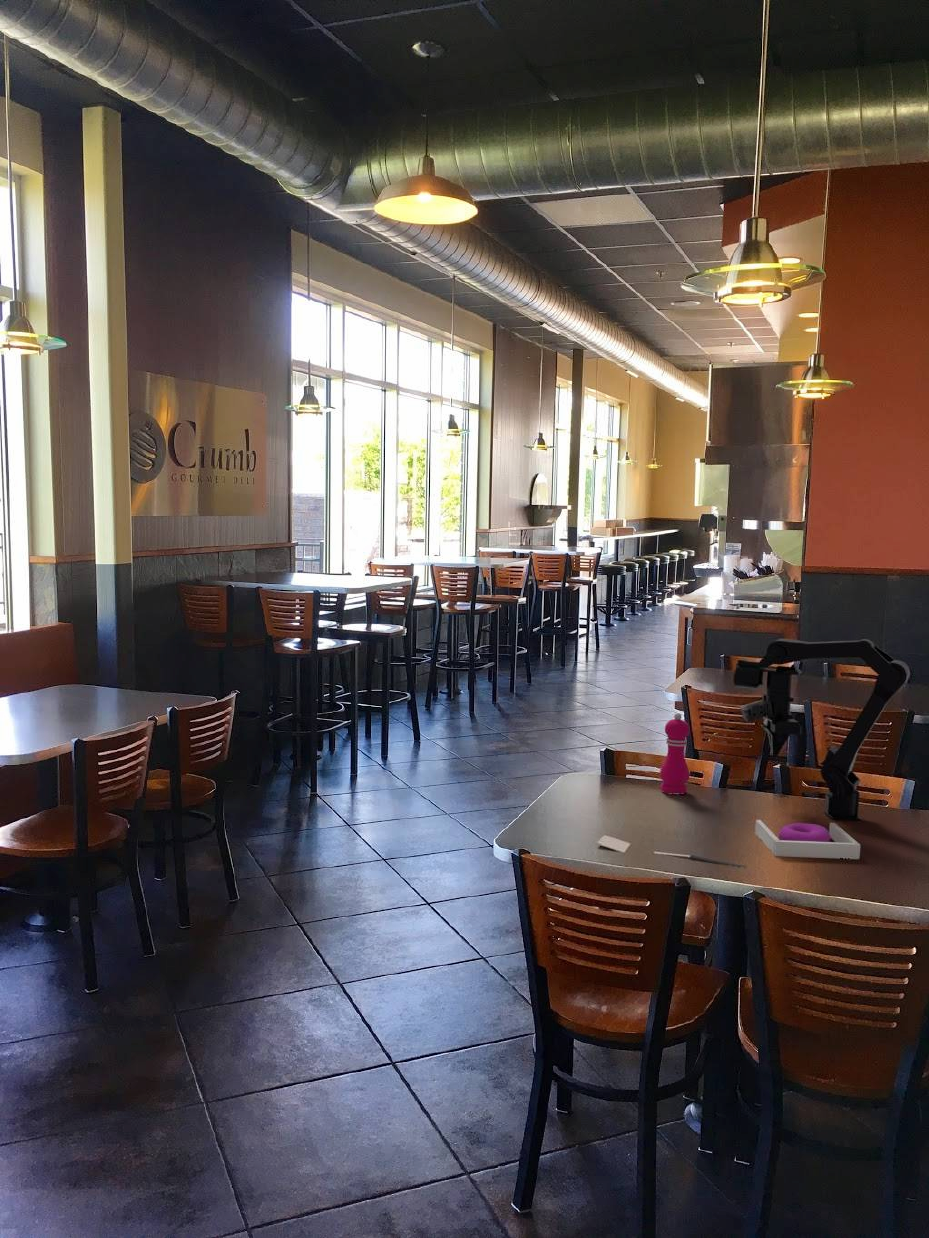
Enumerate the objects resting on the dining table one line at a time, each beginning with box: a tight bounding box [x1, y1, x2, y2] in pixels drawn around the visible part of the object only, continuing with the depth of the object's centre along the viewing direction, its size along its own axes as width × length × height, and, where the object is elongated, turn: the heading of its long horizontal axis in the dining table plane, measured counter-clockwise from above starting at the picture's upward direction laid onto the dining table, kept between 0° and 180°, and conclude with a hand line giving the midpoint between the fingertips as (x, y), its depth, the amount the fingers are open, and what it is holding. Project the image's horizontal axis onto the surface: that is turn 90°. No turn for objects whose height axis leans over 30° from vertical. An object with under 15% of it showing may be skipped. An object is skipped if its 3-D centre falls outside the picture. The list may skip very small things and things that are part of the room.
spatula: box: [596, 835, 747, 868], centre depth 195 cm, size 6×29×2 cm, turn 66°
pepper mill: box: [659, 712, 690, 794], centre depth 241 cm, size 7×7×20 cm
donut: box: [778, 822, 832, 842], centre depth 202 cm, size 10×10×5 cm
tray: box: [754, 819, 861, 860], centre depth 203 cm, size 17×14×3 cm
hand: (774, 755), depth 233 cm, fingers closed
